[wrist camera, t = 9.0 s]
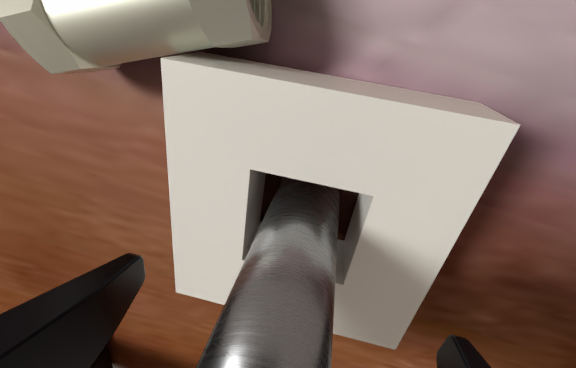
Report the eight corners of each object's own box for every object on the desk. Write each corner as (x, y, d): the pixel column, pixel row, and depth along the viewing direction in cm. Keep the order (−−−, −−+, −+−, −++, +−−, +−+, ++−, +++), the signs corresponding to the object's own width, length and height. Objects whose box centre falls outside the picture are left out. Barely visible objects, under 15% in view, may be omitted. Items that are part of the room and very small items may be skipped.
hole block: (201, 252, 17) (175, 292, 15) (201, 51, 12) (160, 57, 9) (387, 298, 16) (395, 349, 14) (479, 102, 11) (520, 125, 8)
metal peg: (274, 212, 15) (171, 465, 6) (282, 159, 13) (162, 395, 5) (332, 225, 15) (308, 509, 6) (346, 173, 13) (343, 449, 4)
